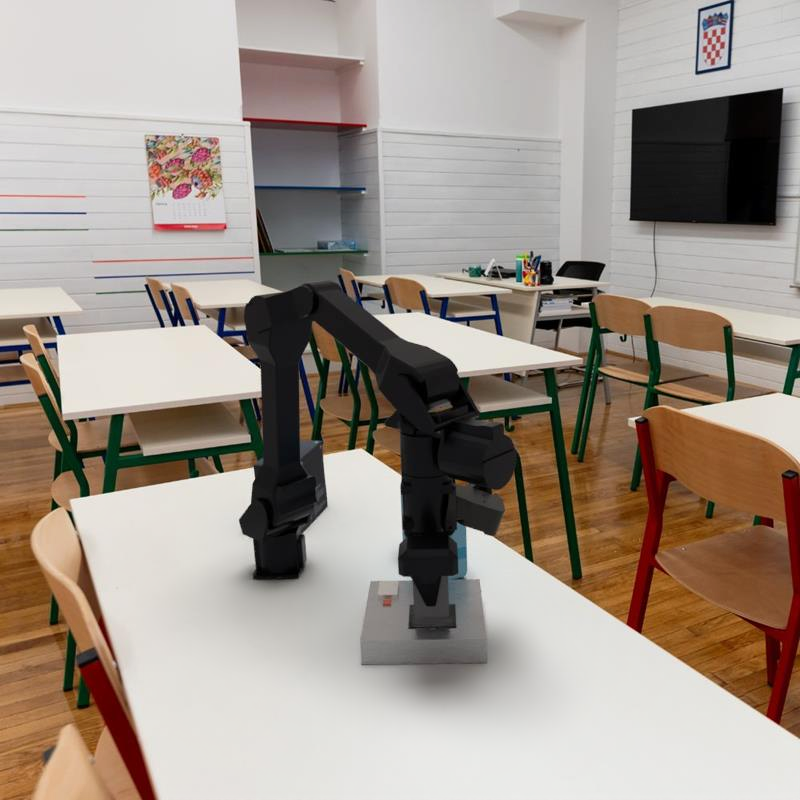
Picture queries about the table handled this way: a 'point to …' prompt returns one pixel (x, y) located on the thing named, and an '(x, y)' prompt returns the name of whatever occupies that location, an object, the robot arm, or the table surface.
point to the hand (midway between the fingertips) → (431, 596)
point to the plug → (441, 605)
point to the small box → (315, 467)
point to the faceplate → (399, 644)
